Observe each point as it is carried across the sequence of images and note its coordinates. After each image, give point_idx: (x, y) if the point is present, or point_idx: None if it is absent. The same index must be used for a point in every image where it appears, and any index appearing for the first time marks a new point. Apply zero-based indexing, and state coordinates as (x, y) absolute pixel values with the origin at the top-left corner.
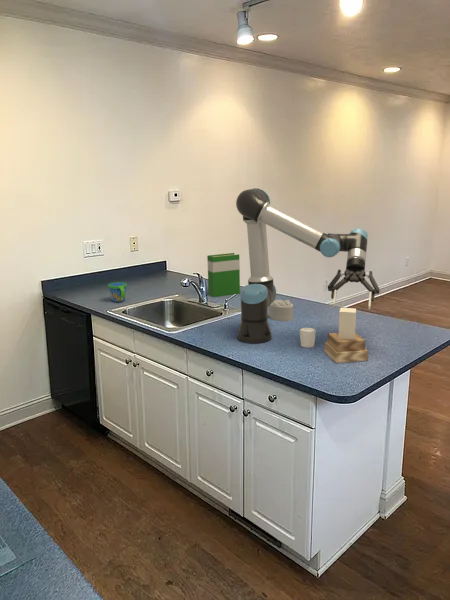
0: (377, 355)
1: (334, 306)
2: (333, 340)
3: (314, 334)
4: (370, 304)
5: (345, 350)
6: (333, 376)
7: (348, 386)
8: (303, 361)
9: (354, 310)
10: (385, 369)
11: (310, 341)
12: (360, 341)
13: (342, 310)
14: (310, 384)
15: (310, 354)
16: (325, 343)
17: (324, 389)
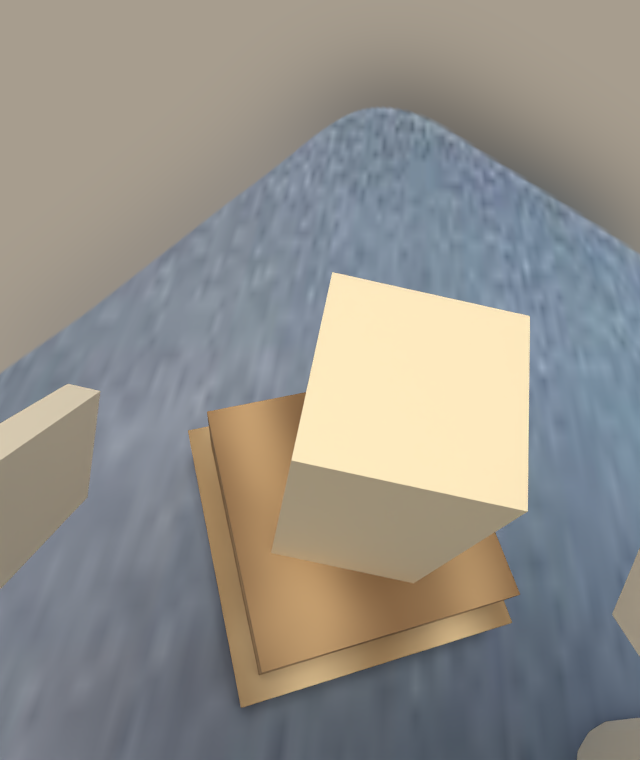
0: (92, 560)
1: (629, 601)
2: None
3: (634, 754)
4: (53, 394)
5: None
6: (417, 253)
7: (356, 167)
8: (591, 435)
9: (332, 360)
10: (126, 327)
11: (627, 722)
12: (250, 406)
13: (494, 364)
14: (513, 188)
15: (570, 559)
16: (502, 601)
17: (454, 150)
